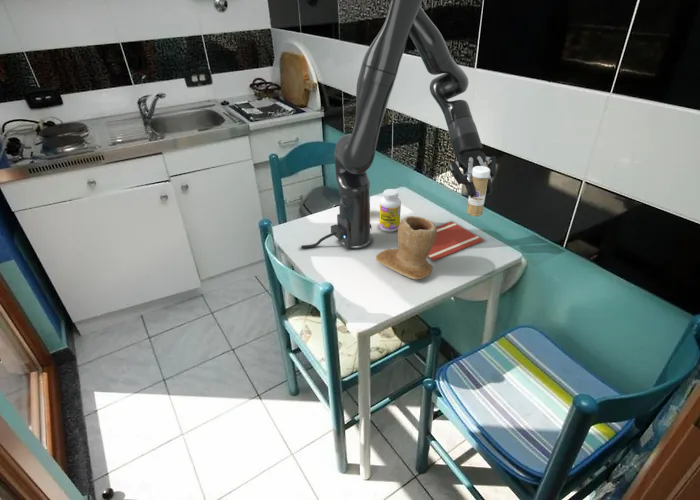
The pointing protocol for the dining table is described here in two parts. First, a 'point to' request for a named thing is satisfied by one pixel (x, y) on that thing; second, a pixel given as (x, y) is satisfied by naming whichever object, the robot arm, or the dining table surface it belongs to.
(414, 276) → the stone cup
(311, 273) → the dining table surface
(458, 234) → the dish cloth
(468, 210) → the sprinkles bottle
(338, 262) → the dining table surface
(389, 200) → the supplement bottle
